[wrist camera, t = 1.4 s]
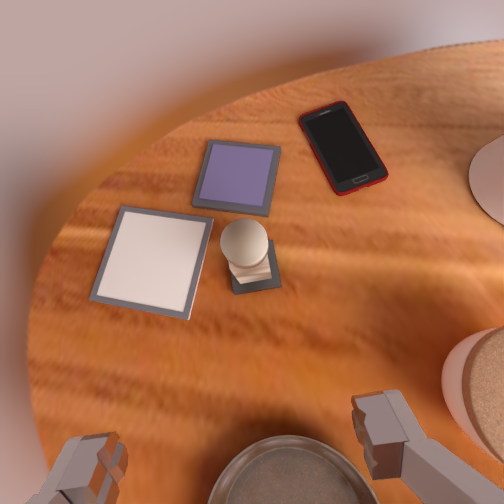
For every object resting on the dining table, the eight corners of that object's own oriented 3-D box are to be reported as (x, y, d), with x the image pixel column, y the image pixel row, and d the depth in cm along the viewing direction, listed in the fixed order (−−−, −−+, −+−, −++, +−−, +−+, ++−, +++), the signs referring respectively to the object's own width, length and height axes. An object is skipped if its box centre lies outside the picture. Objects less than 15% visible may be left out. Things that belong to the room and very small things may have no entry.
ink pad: (281, 150, 43) (281, 144, 42) (268, 217, 40) (267, 213, 39) (210, 143, 45) (208, 138, 44) (193, 207, 42) (190, 203, 41)
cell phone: (336, 199, 41) (338, 195, 40) (296, 120, 45) (296, 116, 44) (389, 179, 41) (391, 176, 40) (343, 103, 45) (344, 98, 44)
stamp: (273, 243, 39) (268, 206, 29) (281, 287, 37) (280, 264, 27) (229, 251, 40) (209, 218, 29) (235, 295, 38) (216, 276, 27)
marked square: (213, 219, 41) (212, 218, 41) (189, 320, 37) (187, 319, 37) (123, 207, 43) (121, 205, 43) (91, 300, 39) (88, 300, 39)
